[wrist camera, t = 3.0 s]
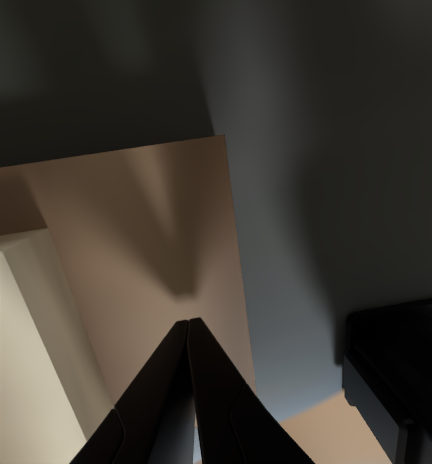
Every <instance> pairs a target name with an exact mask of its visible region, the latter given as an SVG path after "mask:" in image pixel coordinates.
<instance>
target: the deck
mask: <svg viewBox="0 0 432 464" xmlns="http://www.w3.org/2000/svg"><path fill="white" fill-rule="evenodd" d="M45 228H48V229H49V231H50V234H51V237H52V239H53V242H54V245H55V248H56V250H57V253H58V256H59V258H60V261H61V264H62V266H63V269H64V272H65V275H66V277H67V280H68V283H69V285H70V288H71V291H72V294H73V296H74V299H75V302H76V304H77V307H78V310H79V312H80V315H81V318H82V321H83V323H84V326H85V329H86V331H87V334H88V337H89V340H90V342H91V345H92V348H93V350H94V353H95V356H96V358H97V361H98V364H99V367H100V369H101V372H102V375H103V377H104V380H105V383H106V385H107V388H108V391H109V394H110V396H111V399H112V402H113V404H114V405H115V404H116V402H117V401H118V400H119V398H120V397H121V396H122V394H123V393H124V391H125V390H126V389H127V387H128V386H129V385H130V383H131V382H132V381H133V379H134V378H135V377H136V375H137V374H138V372H139V371H140V370H141V368H142V367H143V366H144V364H145V363H146V362H147V360H148V359H149V357H150V356H151V355H152V353H153V352H154V351H155V349H156V348H157V347H158V345H159V344H160V343H161V341H162V340H163V338H164V337H165V336H166V334H167V333H168V332H169V330H170V329H171V328H172V326H173V325H174V323H175V322H176V321H180V320H185V319H187V320H189V319H191V318H197V317H201V318H202V319H203V321H204V322H205V324H206V325H207V326H208V328H209V329H210V331H211V332H212V334H213V335H214V336H215V338H216V339H217V341H218V342H219V344H220V345H221V346H222V348H223V349H224V351H225V352H226V354H227V355H228V356H229V358H230V359H231V361H232V362H233V364H234V365H235V367H236V368H237V369H238V371H239V372H240V374H241V375H242V377H243V378H244V379H245V381H246V383H247V384H248V385H249V386H250V388H251V389H252V391H253V392H254V393H255V395H256V396H257V393H256V385H255V377H254V369H253V361H252V353H251V345H250V337H249V329H248V320H247V312H246V304H245V296H244V288H243V280H242V272H241V264H240V256H239V248H238V240H237V231H236V223H235V215H234V207H233V199H232V191H231V183H230V175H229V167H228V159H227V151H226V142H225V134H224V135H217V136H210V137H203V138H197V139H190V140H183V141H176V142H170V143H163V144H156V145H149V146H143V147H136V148H129V149H122V150H116V151H109V152H102V153H95V154H89V155H82V156H75V157H68V158H62V159H55V160H48V161H42V162H35V163H28V164H21V165H15V166H8V167H1V168H0V236H1V235H7V234H14V233H20V232H26V231H33V230H39V229H45ZM196 427H197V420H196V413H195V428H196Z"/></svg>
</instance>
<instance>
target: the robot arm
mask: <svg viewBox="0 0 432 464" xmlns="http://www.w3.org/2000/svg"><path fill="white" fill-rule="evenodd" d="M358 321H359V322H358ZM357 322H358V323H357ZM343 387H344V389H345V398H346V400H347V402H348V403H349V405H351V406H356V408H357V409H358V411H359V412H360V414H361V415H362V417H363V419H364V420H365V421H366V423H367V425H368V426H369V428H370V430H371V431H372V432H373V434H374V436H375V437H376V439H377V440H378V442H379V443H380V445H381V447H382V448H383V450H384V451H385V452H386V454H387V456H388V458H389V459H390V461H391V462H392V464H432V299H427V300H421V301H415V302H410V303H404V304H399V305H393V306H388V307H382V308H377V309H371V310H365V311H360V312H355V313H352V314H351V315H349V316H348V318H347V321H346V351H345V353H344V367H343ZM195 413H196V420H197V428H198V435H199V442H200V450H201V457H202V464H315V463H314V462H313V461H312V460H311V458H309V456H308V455H307V454H306V453H305V452H304V451H303V450H302V449H301V448H300V447H299V446H298V444H297V443H296V442H295V441H294V440H293V439H292V438H291V437H290V436H289V434H288V433H287V432H286V431H285V430H284V429H283V428H282V427H281V426H280V424H279V423H278V422H277V421H276V420H275V419H274V418H273V416H272V415H271V414H270V413H269V412H268V411H267V409H266V408H265V407H264V405H263V404H262V403H261V401H260V400H259V399H258V397H257V396H256V395H255V393H254V392H253V391H252V389H251V388H250V386H249V385H248V384H247V383H246V381H245V379H244V378H243V377H242V375H241V374H240V372H239V371H238V369H237V368H236V367H235V365H234V364H233V362H232V361H231V359H230V358H229V356H228V355H227V354H226V352H225V351H224V349H223V348H222V346H221V345H220V344H219V342H218V341H217V339H216V338H215V336H214V335H213V334H212V332H211V331H210V329H209V328H208V326H207V325H206V324H205V322H204V321H203V319H202V318H201V317H197V318H191V319H189V320H187V319H185V320H180V321H176V322H175V323H174V325H173V326H172V328H171V329H170V330H169V332H168V333H167V334H166V336H165V337H164V338H163V340H162V341H161V343H160V344H159V345H158V347H157V348H156V349H155V351H154V352H153V353H152V355H151V356H150V357H149V359H148V360H147V362H146V363H145V364H144V366H143V367H142V368H141V370H140V371H139V372H138V374H137V375H136V377H135V378H134V379H133V381H132V382H131V383H130V385H129V386H128V387H127V389H126V390H125V391H124V393H123V394H122V396H121V397H120V398H119V400H118V401H117V402H116V404H115V405H114V409H111V410H110V412H109V413H108V414H107V416H106V417H105V418H104V420H103V421H102V423H101V424H100V425H99V426H98V428H97V429H96V430H95V432H94V433H93V434H92V436H91V437H90V438H89V439H88V441H87V442H86V443H85V445H84V446H83V447H82V448H81V449H80V451H79V452H78V453H77V454H76V455H75V457H74V458H73V459H72V460H71V461H70V463H69V464H193V449H194V430H195Z"/></svg>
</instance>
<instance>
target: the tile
mask: <svg viewBox="0 0 432 464" xmlns="http://www.w3.org/2000/svg"><path fill="white" fill-rule="evenodd" d="M111 409H114V404H113V402H112V399H111V396H110V394H109V391H108V388H107V385H106V383H105V380H104V377H103V375H102V372H101V369H100V367H99V364H98V361H97V358H96V356H95V353H94V350H93V348H92V345H91V342H90V340H89V337H88V334H87V331H86V329H85V326H84V323H83V321H82V318H81V315H80V312H79V310H78V307H77V304H76V302H75V299H74V296H73V294H72V291H71V288H70V285H69V283H68V280H67V277H66V275H65V272H64V269H63V266H62V264H61V261H60V258H59V256H58V253H57V250H56V248H55V245H54V242H53V239H52V237H51V234H50V231H49V229H48V228H45V229H39V230H33V231H26V232H20V233H14V234H7V235H1V236H0V464H69V463H70V461H71V460H72V459H73V458H74V457H75V455H76V454H77V453H78V452H79V451H80V449H81V448H82V447H83V446H84V445H85V443H86V442H87V441H88V439H89V438H90V437H91V436H92V434H93V433H94V432H95V430H96V429H97V428H98V426H99V425H100V424H101V423H102V421H103V420H104V418H105V417H106V416H107V414H108V413H109V412H110V410H111Z"/></svg>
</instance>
